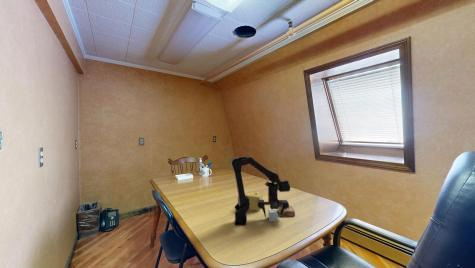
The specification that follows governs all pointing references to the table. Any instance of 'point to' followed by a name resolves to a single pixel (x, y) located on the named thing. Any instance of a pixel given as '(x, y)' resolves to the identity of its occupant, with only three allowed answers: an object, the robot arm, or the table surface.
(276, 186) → the robot arm
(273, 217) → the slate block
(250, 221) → the table surface
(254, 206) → the cheese
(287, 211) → the pedestal
